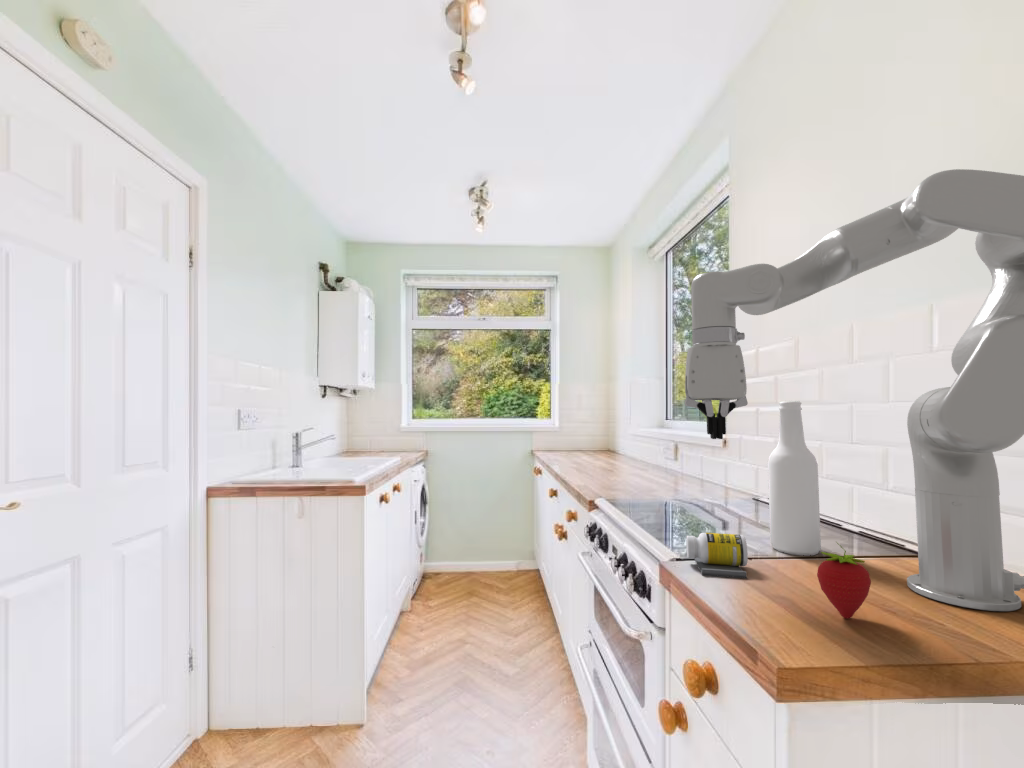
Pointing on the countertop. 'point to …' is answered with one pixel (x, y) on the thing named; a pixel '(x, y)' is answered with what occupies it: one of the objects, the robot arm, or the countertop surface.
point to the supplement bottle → (718, 549)
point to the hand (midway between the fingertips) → (716, 438)
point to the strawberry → (844, 582)
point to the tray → (720, 570)
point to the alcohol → (793, 488)
